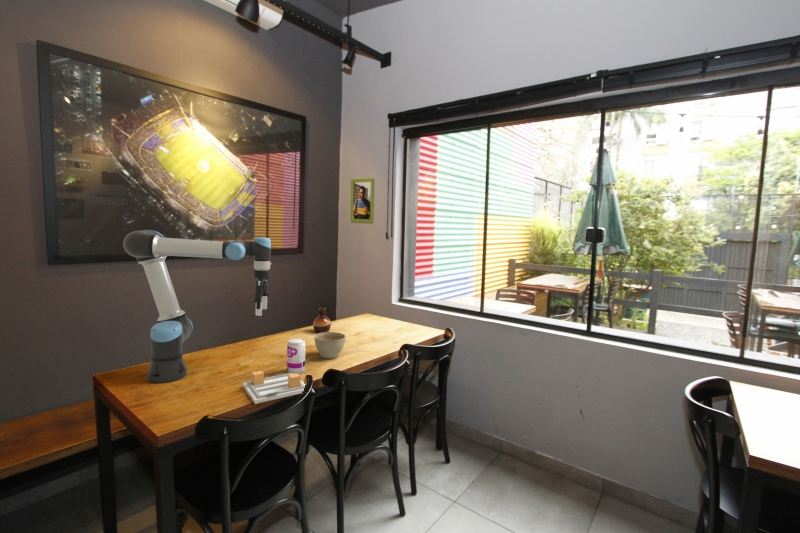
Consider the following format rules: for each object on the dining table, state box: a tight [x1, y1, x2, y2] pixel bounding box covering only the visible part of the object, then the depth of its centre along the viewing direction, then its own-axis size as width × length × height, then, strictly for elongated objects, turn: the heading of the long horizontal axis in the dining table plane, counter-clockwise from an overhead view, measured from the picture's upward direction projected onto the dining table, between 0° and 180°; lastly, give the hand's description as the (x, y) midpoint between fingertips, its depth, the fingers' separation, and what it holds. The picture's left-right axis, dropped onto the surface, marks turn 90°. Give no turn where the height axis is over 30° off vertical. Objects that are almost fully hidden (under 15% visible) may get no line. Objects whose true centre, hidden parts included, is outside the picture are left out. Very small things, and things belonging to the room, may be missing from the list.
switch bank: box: [242, 372, 306, 405], centre depth 162 cm, size 22×18×2 cm
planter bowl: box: [314, 331, 346, 359], centre depth 204 cm, size 16×16×11 cm
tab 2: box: [288, 373, 301, 388], centre depth 161 cm, size 4×3×5 cm
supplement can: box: [286, 338, 306, 375], centre depth 180 cm, size 8×8×15 cm
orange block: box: [251, 370, 265, 386], centre depth 162 cm, size 4×3×5 cm
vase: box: [312, 307, 332, 334], centre depth 247 cm, size 11×11×15 cm
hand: (261, 312), depth 189 cm, fingers open, 13 cm apart
